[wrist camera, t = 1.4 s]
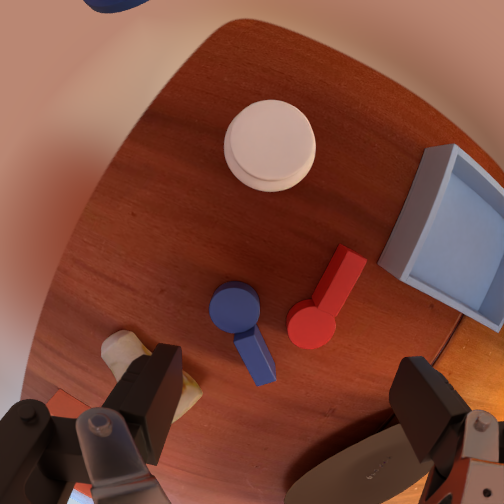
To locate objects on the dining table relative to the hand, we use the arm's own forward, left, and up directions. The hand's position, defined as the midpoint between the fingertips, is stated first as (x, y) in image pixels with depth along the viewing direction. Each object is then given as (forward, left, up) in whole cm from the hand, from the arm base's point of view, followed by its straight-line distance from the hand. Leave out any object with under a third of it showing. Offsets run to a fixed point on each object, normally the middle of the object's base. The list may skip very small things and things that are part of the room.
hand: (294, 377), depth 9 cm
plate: (+34, -5, -14) cm, 37 cm away
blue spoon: (+4, -5, -14) cm, 16 cm away
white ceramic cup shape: (+1, -15, -14) cm, 21 cm away
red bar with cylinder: (+4, +3, -14) cm, 15 cm away
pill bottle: (-7, +5, -14) cm, 17 cm away
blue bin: (+9, +16, -14) cm, 23 cm away
